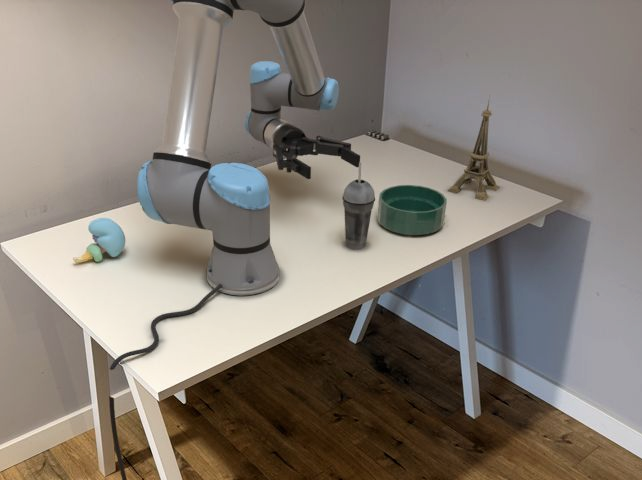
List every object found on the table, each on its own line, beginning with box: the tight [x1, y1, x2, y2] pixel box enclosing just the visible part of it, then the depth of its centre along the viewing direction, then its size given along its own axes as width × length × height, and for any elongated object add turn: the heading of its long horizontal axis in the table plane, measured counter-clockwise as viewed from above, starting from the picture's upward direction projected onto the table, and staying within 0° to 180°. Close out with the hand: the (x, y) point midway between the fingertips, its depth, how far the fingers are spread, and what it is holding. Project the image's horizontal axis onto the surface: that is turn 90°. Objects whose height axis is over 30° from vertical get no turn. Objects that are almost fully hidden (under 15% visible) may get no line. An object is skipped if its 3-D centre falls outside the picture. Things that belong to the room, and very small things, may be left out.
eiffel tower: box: [447, 95, 500, 201], centre depth 176 cm, size 11×11×25 cm
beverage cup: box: [341, 162, 376, 251], centre depth 150 cm, size 7×7×20 cm
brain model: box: [72, 217, 126, 264], centre depth 147 cm, size 7×9×12 cm
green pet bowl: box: [376, 184, 447, 236], centre depth 164 cm, size 16×16×6 cm
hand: (334, 167), depth 153 cm, fingers open, 13 cm apart
